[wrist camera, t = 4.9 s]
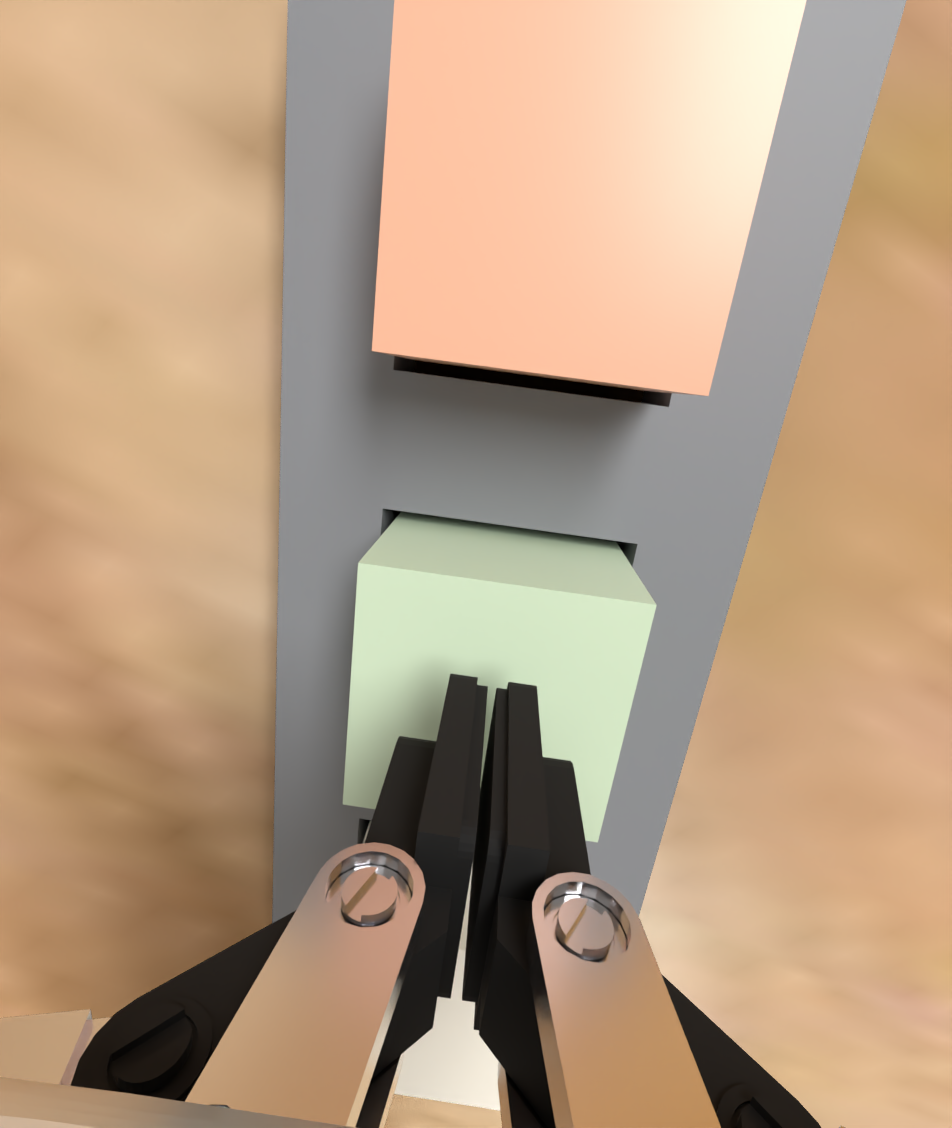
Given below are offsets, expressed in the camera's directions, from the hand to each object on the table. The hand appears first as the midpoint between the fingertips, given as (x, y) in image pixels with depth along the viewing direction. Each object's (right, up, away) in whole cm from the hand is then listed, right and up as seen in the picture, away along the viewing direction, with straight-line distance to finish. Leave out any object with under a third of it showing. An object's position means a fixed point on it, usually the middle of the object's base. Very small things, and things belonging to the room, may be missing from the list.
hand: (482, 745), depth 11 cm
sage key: (0, +2, +6) cm, 6 cm away
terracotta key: (+2, +11, +3) cm, 12 cm away
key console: (+1, +2, +7) cm, 8 cm away
